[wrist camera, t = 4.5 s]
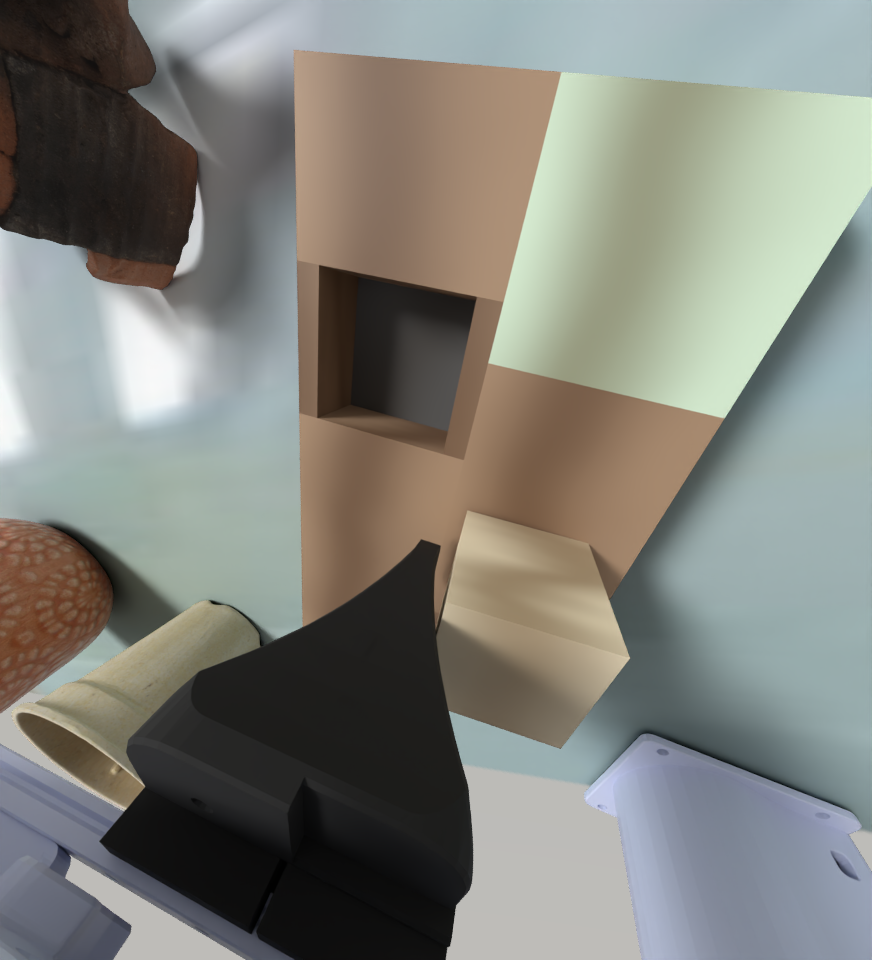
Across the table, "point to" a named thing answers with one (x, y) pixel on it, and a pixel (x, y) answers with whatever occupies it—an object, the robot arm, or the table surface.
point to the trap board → (537, 294)
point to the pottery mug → (90, 141)
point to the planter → (45, 604)
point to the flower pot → (129, 697)
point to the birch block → (526, 630)
